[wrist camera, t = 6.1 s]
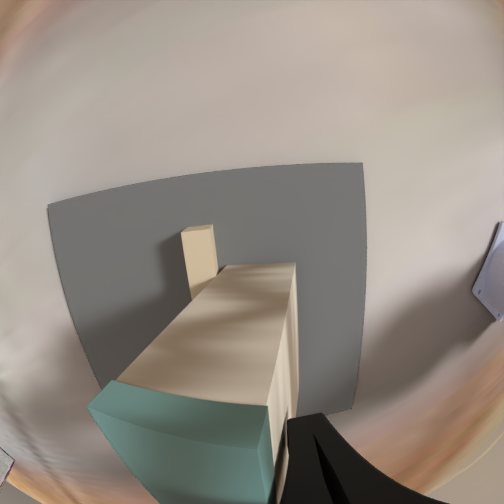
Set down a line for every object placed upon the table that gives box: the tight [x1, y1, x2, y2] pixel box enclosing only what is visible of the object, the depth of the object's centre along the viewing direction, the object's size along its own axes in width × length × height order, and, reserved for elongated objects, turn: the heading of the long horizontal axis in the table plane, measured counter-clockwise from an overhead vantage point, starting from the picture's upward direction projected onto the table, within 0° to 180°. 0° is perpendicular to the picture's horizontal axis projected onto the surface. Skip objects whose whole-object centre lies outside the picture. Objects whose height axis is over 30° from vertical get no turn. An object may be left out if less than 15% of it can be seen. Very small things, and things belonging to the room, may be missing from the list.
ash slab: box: [86, 262, 299, 504], centre depth 11 cm, size 4×9×12 cm, turn 6°
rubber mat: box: [48, 163, 367, 417], centre depth 16 cm, size 21×20×2 cm
